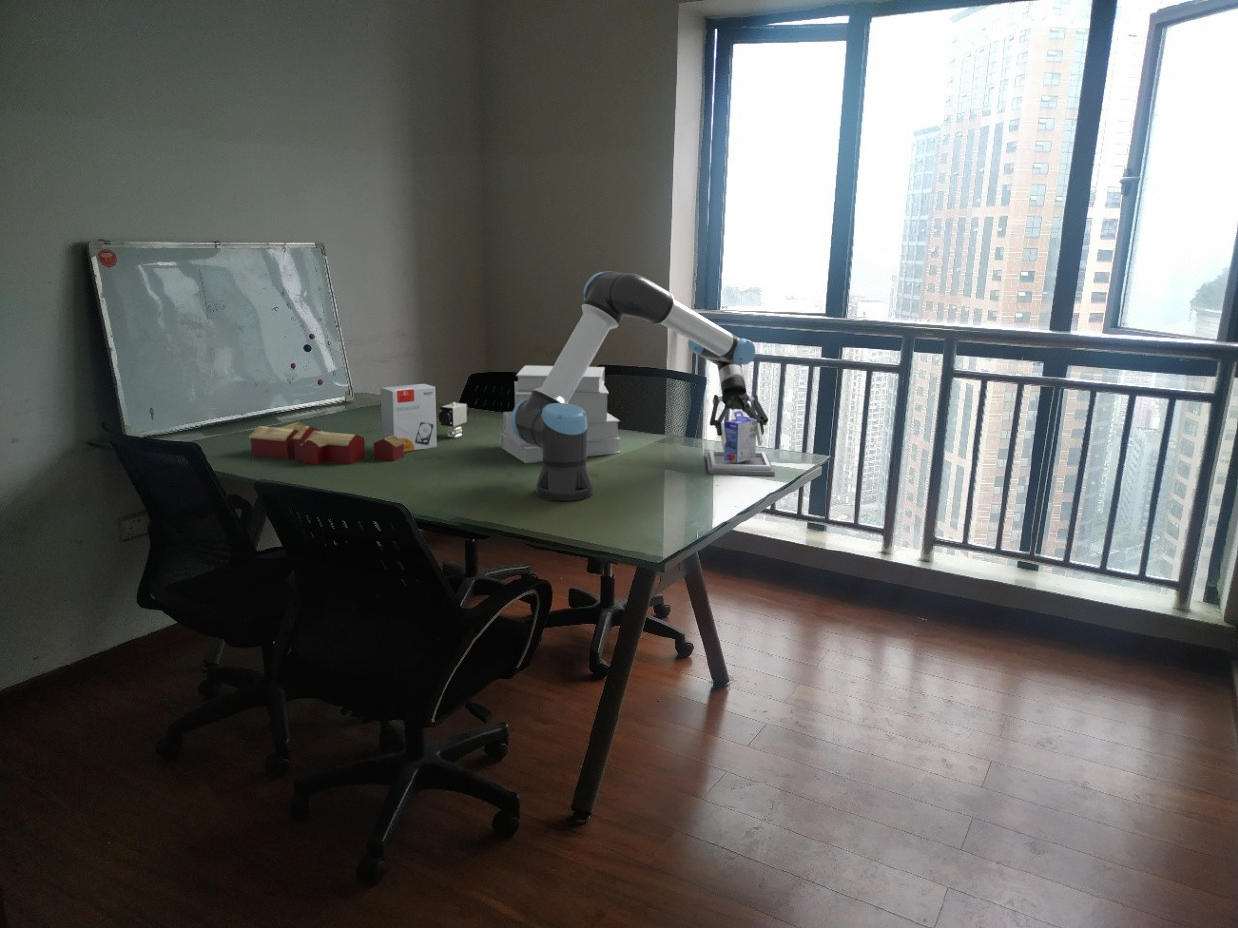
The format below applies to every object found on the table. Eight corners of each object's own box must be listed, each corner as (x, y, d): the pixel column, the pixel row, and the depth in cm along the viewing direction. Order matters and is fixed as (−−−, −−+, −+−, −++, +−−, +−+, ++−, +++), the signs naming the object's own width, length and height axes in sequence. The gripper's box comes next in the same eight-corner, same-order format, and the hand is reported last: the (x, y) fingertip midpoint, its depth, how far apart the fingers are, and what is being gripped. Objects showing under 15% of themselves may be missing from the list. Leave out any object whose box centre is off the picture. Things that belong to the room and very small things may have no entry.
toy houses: (246, 458, 262) (242, 425, 260) (289, 443, 281) (287, 412, 279) (375, 472, 250) (373, 438, 247) (412, 455, 269) (410, 423, 266)
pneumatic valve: (470, 434, 297) (469, 399, 294) (450, 441, 286) (449, 405, 283) (457, 432, 299) (456, 398, 296) (436, 439, 289) (435, 404, 286)
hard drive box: (393, 454, 268) (390, 391, 263) (382, 449, 274) (378, 387, 269) (438, 447, 278) (435, 386, 273) (426, 442, 284) (423, 382, 279)
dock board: (708, 474, 252) (709, 466, 251) (706, 456, 272) (706, 448, 272) (774, 476, 251) (774, 468, 250) (766, 458, 271) (767, 450, 271)
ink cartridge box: (741, 454, 267) (743, 408, 263) (756, 458, 263) (759, 411, 259) (722, 460, 260) (724, 413, 256) (737, 463, 256) (739, 416, 252)
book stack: (492, 445, 282) (491, 367, 276) (589, 435, 298) (590, 361, 291) (525, 467, 256) (524, 381, 250) (630, 455, 272) (631, 374, 265)
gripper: (765, 389, 272) (776, 449, 262) (694, 390, 270) (702, 450, 259) (771, 375, 266) (783, 436, 255) (698, 375, 263) (707, 437, 252)
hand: (742, 443), depth 257 cm, fingers closed on ink cartridge box, 10 cm apart
